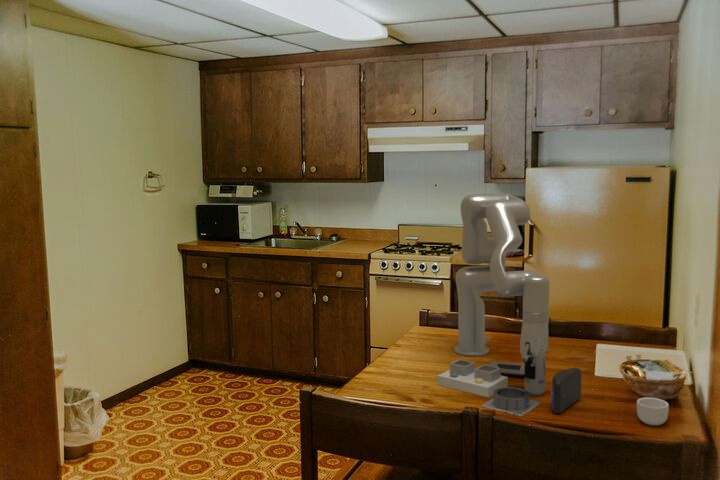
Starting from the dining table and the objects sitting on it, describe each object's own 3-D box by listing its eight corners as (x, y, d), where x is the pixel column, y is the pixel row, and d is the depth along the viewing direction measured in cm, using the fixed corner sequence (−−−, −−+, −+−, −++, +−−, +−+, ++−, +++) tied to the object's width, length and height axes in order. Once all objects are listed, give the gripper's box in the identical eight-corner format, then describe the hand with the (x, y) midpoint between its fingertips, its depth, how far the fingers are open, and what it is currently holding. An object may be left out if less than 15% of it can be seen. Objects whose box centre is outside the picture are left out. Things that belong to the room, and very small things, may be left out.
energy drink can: (544, 397, 187) (545, 348, 186) (523, 395, 190) (524, 346, 188) (545, 390, 193) (546, 342, 191) (525, 388, 195) (526, 340, 193)
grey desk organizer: (458, 374, 209) (458, 357, 208) (507, 386, 197) (507, 367, 196) (437, 384, 200) (437, 366, 199) (488, 397, 188) (488, 378, 188)
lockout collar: (502, 394, 191) (502, 383, 190) (540, 403, 183) (540, 391, 182) (482, 406, 182) (482, 394, 181) (520, 416, 174) (520, 404, 173)
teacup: (658, 430, 163) (659, 410, 162) (630, 421, 169) (630, 402, 169) (677, 420, 169) (678, 401, 168) (649, 412, 175) (650, 393, 175)
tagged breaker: (485, 373, 199) (485, 366, 199) (496, 376, 197) (496, 368, 196) (478, 377, 196) (478, 369, 196) (490, 379, 194) (490, 371, 193)
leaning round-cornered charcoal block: (566, 395, 189) (567, 364, 188) (582, 398, 186) (582, 367, 185) (543, 412, 177) (544, 379, 176) (559, 416, 174) (560, 382, 173)
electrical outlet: (530, 370, 213) (530, 363, 213) (528, 380, 203) (528, 373, 203) (490, 367, 217) (490, 360, 217) (486, 377, 207) (486, 370, 207)
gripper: (536, 309, 197) (536, 365, 200) (510, 320, 184) (509, 380, 187) (560, 312, 192) (559, 370, 195) (534, 324, 180) (533, 386, 182)
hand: (535, 374), depth 191 cm, fingers closed on energy drink can, 6 cm apart
